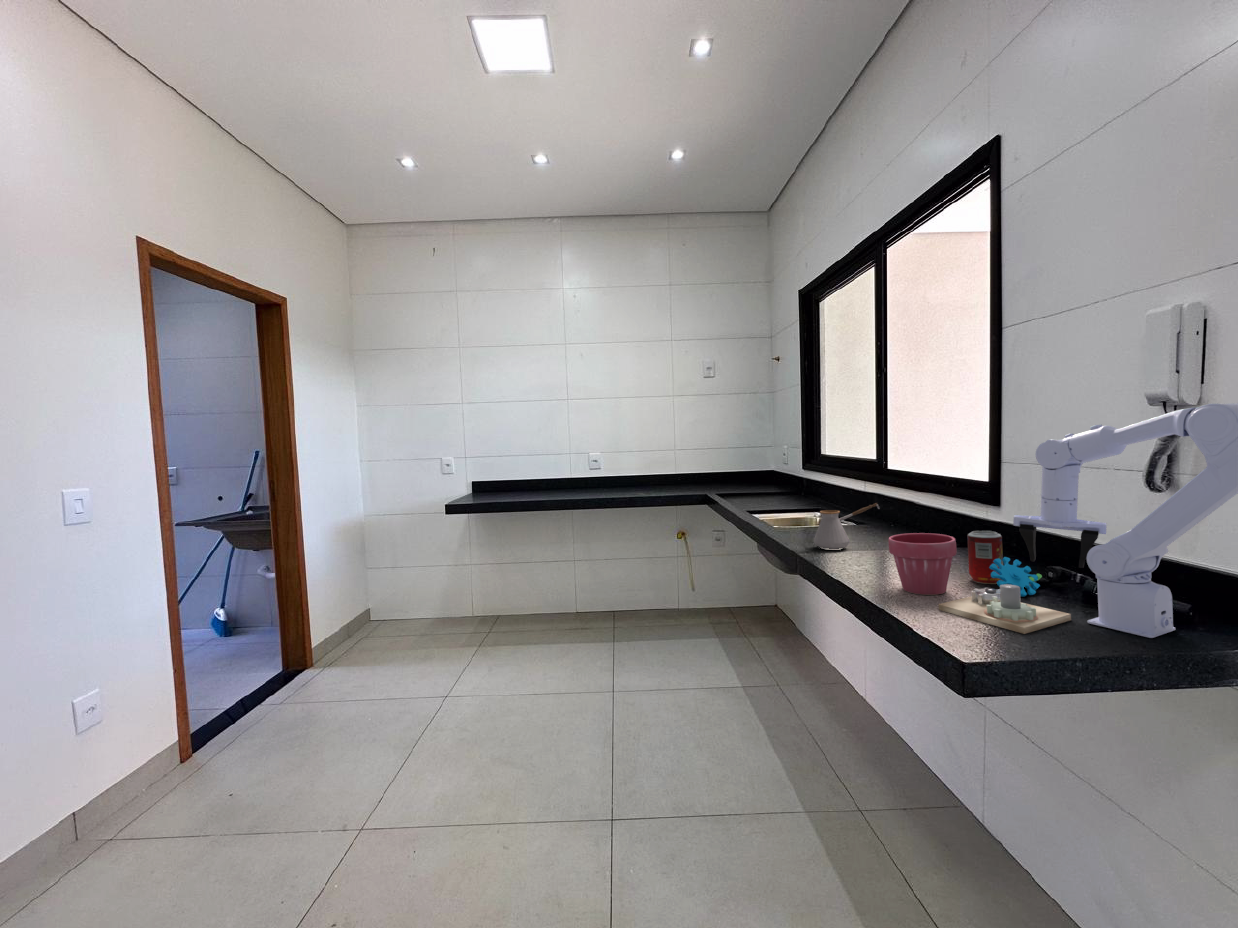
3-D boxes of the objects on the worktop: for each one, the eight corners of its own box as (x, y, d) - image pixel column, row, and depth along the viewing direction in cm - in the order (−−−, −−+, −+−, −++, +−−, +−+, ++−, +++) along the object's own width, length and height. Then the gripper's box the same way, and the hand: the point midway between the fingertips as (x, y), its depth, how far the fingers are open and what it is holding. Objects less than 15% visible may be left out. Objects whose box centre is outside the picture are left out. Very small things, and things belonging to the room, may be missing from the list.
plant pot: (877, 586, 133) (875, 535, 133) (925, 579, 136) (923, 530, 135) (921, 601, 119) (918, 545, 119) (973, 594, 122) (971, 539, 121)
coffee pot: (816, 552, 175) (813, 507, 175) (811, 545, 186) (809, 503, 186) (886, 551, 170) (883, 505, 170) (876, 544, 182) (874, 501, 181)
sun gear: (1018, 602, 111) (1018, 590, 111) (997, 608, 108) (996, 595, 108) (985, 594, 117) (985, 583, 117) (964, 600, 114) (963, 588, 114)
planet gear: (1046, 616, 101) (1045, 588, 101) (1017, 623, 99) (1015, 594, 99) (1005, 605, 109) (1004, 579, 109) (977, 611, 106) (976, 584, 106)
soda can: (1006, 585, 126) (1004, 534, 126) (971, 583, 130) (968, 534, 129) (1001, 578, 133) (998, 529, 132) (967, 576, 136) (965, 529, 136)
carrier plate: (1071, 620, 102) (1070, 613, 102) (1024, 633, 97) (1024, 626, 97) (982, 598, 118) (982, 592, 118) (938, 609, 113) (938, 603, 113)
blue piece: (1002, 591, 117) (985, 553, 124) (988, 604, 122) (973, 567, 128) (1054, 595, 117) (1034, 557, 123) (1038, 608, 121) (1020, 570, 128)
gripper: (1011, 498, 109) (1009, 562, 111) (1107, 504, 99) (1103, 574, 101) (1017, 493, 114) (1015, 554, 116) (1108, 499, 104) (1104, 565, 106)
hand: (1056, 563), depth 109 cm, fingers open, 7 cm apart
